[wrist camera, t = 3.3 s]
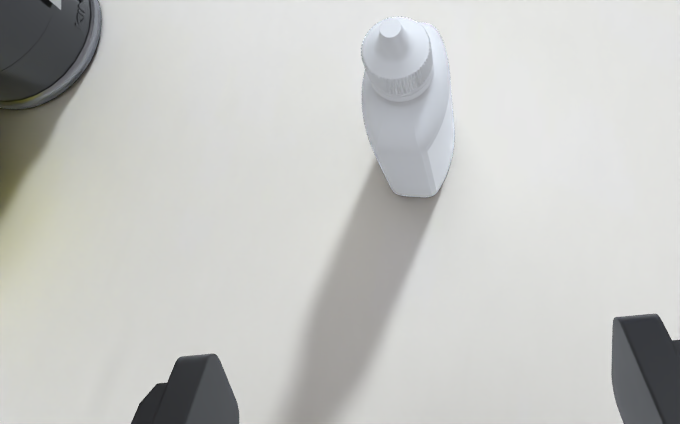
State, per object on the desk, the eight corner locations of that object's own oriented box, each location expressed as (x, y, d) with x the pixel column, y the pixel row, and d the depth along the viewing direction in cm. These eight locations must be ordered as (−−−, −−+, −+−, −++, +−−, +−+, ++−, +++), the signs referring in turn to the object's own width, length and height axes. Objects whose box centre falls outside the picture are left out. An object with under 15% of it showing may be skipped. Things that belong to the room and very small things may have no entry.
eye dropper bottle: (488, 122, 32) (497, -12, 20) (423, 214, 31) (395, 132, 20) (416, 79, 33) (385, -69, 21) (352, 167, 33) (287, 64, 21)
